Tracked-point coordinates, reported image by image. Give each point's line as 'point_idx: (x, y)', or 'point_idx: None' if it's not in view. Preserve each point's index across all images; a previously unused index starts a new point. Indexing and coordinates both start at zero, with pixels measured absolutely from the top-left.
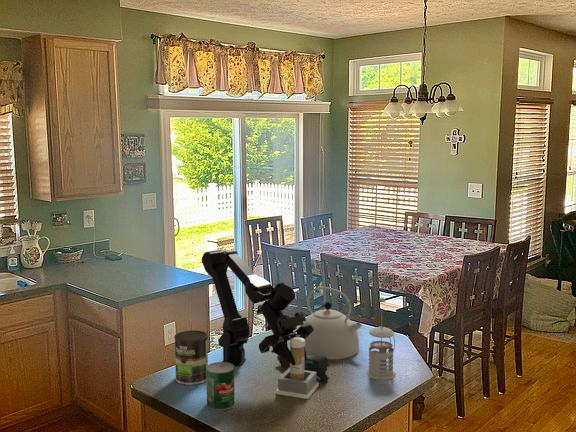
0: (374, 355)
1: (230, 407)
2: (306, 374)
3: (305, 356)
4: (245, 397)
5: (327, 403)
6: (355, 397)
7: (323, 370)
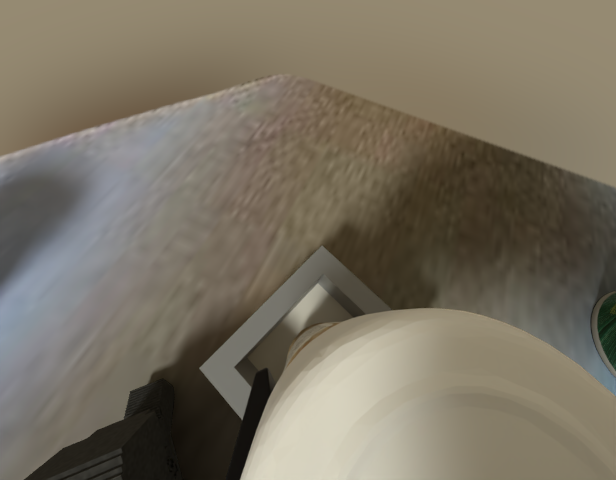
0: None
1: (606, 295)
2: None
3: (263, 391)
4: None
5: (267, 198)
6: (152, 200)
7: (128, 419)
